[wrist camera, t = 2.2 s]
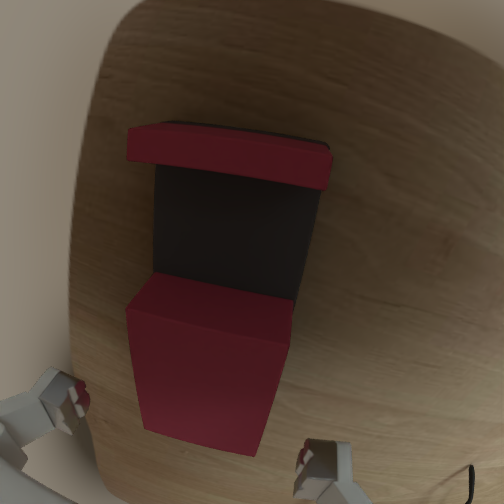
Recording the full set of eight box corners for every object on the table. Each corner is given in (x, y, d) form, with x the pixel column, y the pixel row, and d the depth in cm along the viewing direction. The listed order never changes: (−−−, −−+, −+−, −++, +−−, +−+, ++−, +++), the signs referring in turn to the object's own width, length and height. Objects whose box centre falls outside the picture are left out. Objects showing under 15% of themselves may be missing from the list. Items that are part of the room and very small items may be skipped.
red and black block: (170, 120, 12) (117, 129, 8) (327, 142, 11) (339, 158, 8) (166, 377, 18) (141, 428, 14) (266, 400, 17) (256, 458, 14)
